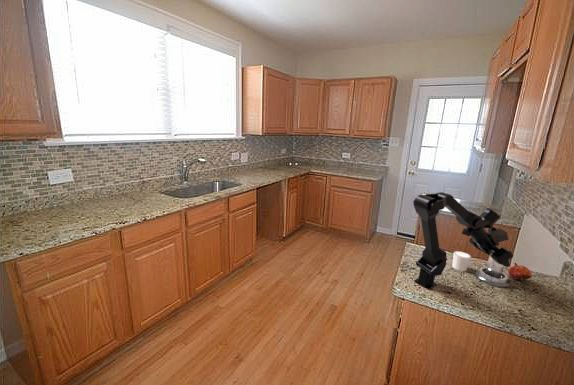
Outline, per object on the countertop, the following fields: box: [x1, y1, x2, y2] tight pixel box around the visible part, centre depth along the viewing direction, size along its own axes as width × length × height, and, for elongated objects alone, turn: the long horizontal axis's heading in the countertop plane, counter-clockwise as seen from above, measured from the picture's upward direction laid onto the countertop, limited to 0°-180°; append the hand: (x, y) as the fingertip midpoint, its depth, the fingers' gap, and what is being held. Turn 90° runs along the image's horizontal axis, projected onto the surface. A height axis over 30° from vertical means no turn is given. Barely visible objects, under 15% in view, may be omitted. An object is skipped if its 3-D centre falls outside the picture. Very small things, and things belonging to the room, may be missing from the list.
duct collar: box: [474, 266, 511, 289], centre depth 114 cm, size 12×12×3 cm
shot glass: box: [451, 250, 472, 272], centre depth 121 cm, size 7×7×7 cm
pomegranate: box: [507, 262, 533, 286], centre depth 113 cm, size 7×7×10 cm
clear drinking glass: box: [485, 247, 505, 279], centre depth 112 cm, size 6×6×13 cm
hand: (500, 260), depth 112 cm, fingers open, 9 cm apart
